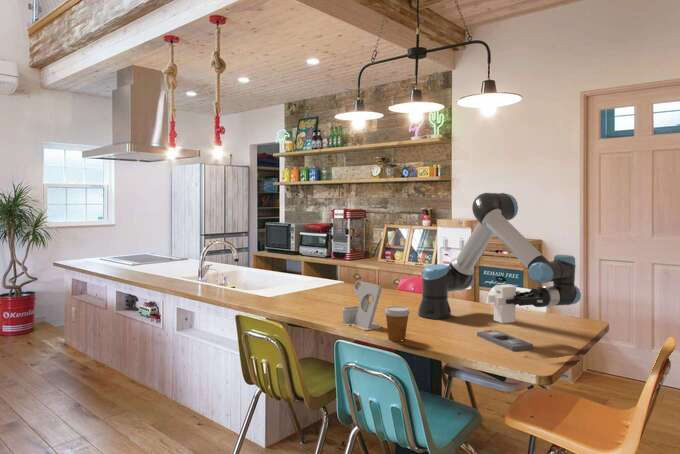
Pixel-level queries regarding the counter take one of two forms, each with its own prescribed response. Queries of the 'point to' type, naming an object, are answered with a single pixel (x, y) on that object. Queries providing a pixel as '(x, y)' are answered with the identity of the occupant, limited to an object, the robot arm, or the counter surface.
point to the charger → (504, 311)
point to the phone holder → (363, 306)
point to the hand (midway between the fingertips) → (493, 300)
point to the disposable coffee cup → (396, 322)
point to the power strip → (504, 340)
